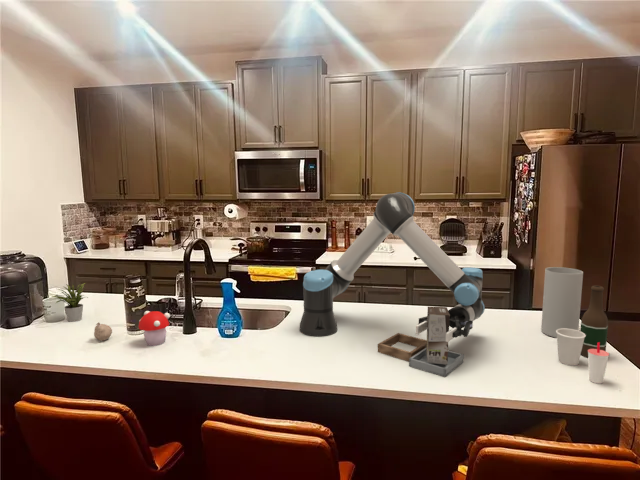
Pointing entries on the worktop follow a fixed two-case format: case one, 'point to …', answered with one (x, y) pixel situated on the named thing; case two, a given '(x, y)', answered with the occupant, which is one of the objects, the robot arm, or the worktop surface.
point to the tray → (438, 369)
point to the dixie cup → (569, 345)
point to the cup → (597, 364)
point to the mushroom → (154, 327)
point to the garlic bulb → (102, 331)
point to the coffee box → (437, 335)
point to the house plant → (72, 303)
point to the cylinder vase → (561, 299)
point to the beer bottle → (594, 323)
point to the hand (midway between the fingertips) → (431, 333)
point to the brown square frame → (386, 349)
